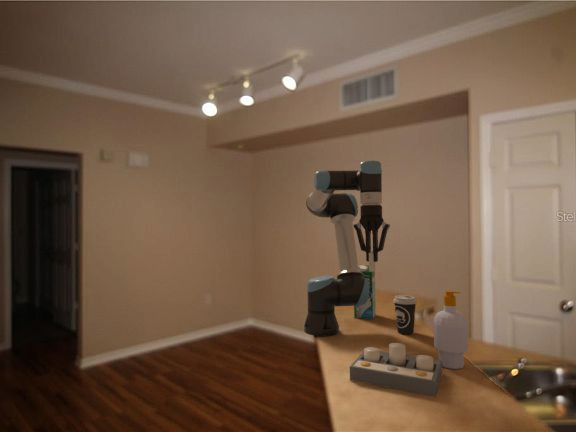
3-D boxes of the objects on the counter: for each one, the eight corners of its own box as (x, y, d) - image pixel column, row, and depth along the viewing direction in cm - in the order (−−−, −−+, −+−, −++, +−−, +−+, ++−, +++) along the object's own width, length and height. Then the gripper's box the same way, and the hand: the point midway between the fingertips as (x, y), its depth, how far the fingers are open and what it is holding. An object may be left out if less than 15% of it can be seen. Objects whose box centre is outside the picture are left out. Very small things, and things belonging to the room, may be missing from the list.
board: (349, 379, 111) (349, 364, 111) (366, 360, 126) (365, 347, 126) (435, 396, 100) (435, 379, 100) (442, 373, 115) (441, 358, 115)
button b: (387, 366, 113) (387, 346, 113) (391, 361, 118) (391, 342, 118) (404, 369, 111) (403, 349, 111) (407, 363, 115) (406, 344, 115)
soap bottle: (466, 374, 114) (464, 295, 114) (431, 367, 119) (429, 292, 120) (470, 363, 123) (468, 289, 123) (437, 357, 128) (435, 287, 128)
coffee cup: (419, 336, 151) (418, 299, 151) (394, 335, 153) (394, 299, 153) (415, 329, 161) (415, 295, 161) (393, 328, 163) (392, 294, 163)
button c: (415, 379, 110) (414, 359, 110) (417, 373, 114) (417, 353, 114) (432, 382, 107) (432, 361, 107) (434, 376, 112) (434, 356, 112)
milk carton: (354, 317, 182) (353, 266, 182) (357, 313, 190) (357, 264, 191) (372, 319, 179) (371, 267, 179) (375, 314, 187) (374, 265, 187)
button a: (362, 370, 117) (362, 351, 117) (366, 364, 121) (366, 346, 121) (377, 372, 115) (377, 353, 115) (381, 367, 119) (381, 348, 119)
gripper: (350, 205, 132) (351, 271, 132) (387, 203, 126) (388, 273, 126) (356, 205, 138) (357, 268, 138) (392, 204, 132) (393, 270, 132)
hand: (372, 270), depth 132 cm, fingers closed
